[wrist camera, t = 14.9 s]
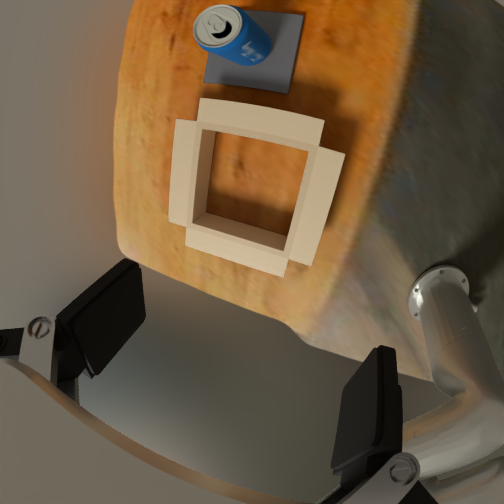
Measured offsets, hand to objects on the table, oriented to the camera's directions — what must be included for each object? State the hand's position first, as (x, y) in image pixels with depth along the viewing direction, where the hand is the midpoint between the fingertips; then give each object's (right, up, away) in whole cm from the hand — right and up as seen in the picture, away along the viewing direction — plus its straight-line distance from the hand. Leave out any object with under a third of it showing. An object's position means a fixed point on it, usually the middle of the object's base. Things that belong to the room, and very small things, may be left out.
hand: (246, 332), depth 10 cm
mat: (0, +33, +22) cm, 39 cm away
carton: (0, +14, +32) cm, 35 cm away
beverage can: (0, +32, +21) cm, 38 cm away
